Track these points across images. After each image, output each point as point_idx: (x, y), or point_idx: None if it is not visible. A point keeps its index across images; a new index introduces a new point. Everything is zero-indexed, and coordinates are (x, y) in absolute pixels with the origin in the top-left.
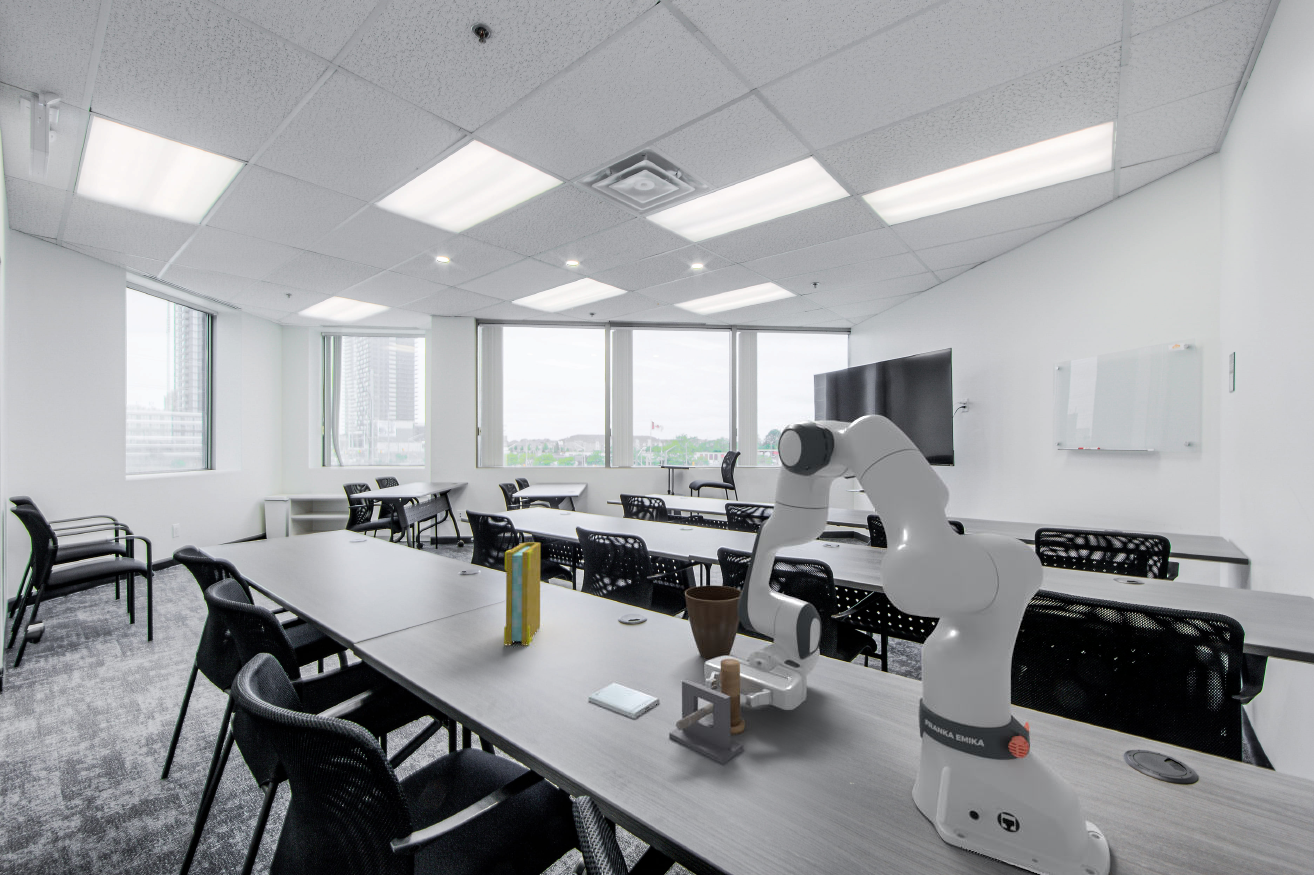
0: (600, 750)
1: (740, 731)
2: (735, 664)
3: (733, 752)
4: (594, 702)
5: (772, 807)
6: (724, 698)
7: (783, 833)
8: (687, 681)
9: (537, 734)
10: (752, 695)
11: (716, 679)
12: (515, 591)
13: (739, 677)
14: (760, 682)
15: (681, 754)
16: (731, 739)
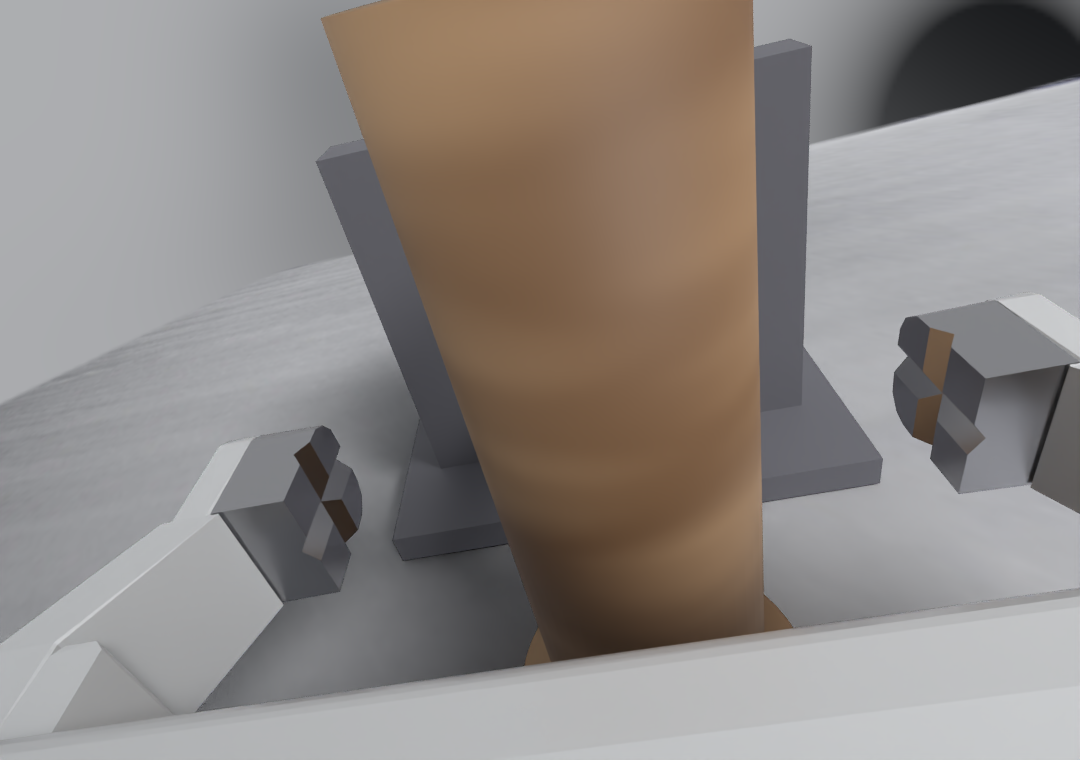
0: (832, 199)
1: None
2: (384, 1)
3: (411, 464)
4: None
5: (168, 417)
6: (345, 145)
7: (126, 385)
8: (761, 53)
9: (1047, 117)
10: (245, 460)
11: (991, 379)
12: None
13: (418, 290)
14: (102, 739)
15: None
16: (488, 520)
